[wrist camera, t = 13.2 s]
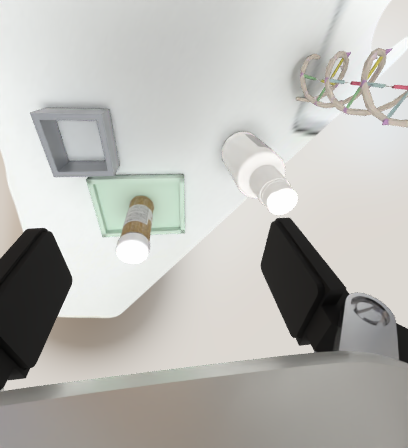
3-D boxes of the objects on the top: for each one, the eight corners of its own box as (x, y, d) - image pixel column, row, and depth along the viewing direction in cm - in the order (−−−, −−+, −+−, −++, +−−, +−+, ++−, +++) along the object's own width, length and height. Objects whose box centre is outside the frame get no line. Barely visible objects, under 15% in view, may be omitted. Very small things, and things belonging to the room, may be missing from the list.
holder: (46, 107, 32) (29, 112, 28) (109, 108, 33) (101, 114, 29) (65, 166, 37) (54, 177, 33) (119, 165, 38) (114, 176, 34)
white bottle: (250, 173, 42) (294, 231, 27) (216, 166, 40) (243, 223, 25) (265, 136, 38) (325, 179, 23) (228, 126, 36) (267, 166, 22)
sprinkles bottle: (150, 218, 44) (143, 268, 33) (126, 211, 42) (111, 261, 31) (157, 199, 41) (153, 245, 30) (132, 191, 40) (119, 237, 29)
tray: (89, 175, 38) (86, 179, 36) (183, 174, 40) (183, 178, 38) (104, 231, 45) (102, 237, 43) (184, 228, 47) (184, 233, 45)
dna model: (309, 110, 36) (592, 197, 12) (278, 92, 34) (543, 154, 10) (337, 63, 33) (803, 56, 9) (304, 41, 31) (796, -52, 7)
